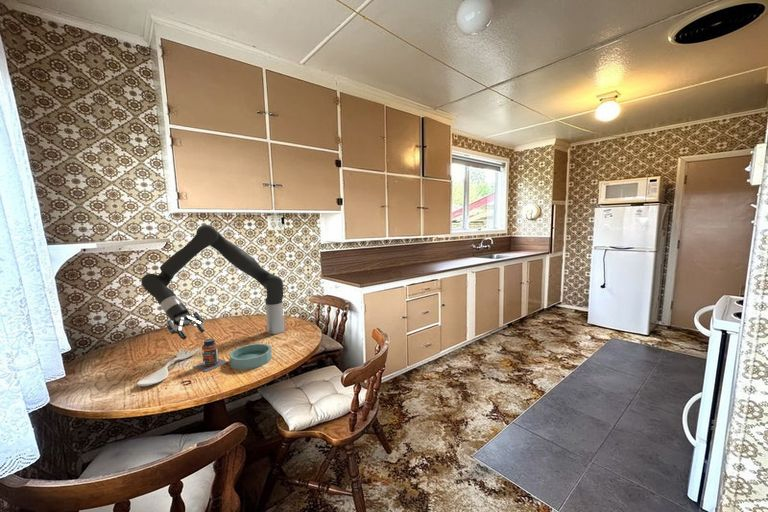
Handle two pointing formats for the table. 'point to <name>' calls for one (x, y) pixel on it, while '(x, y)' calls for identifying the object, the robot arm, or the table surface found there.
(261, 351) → the bowl
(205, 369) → the mat
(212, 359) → the supplement bottle
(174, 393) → the table surface
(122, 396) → the table surface
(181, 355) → the spoon
